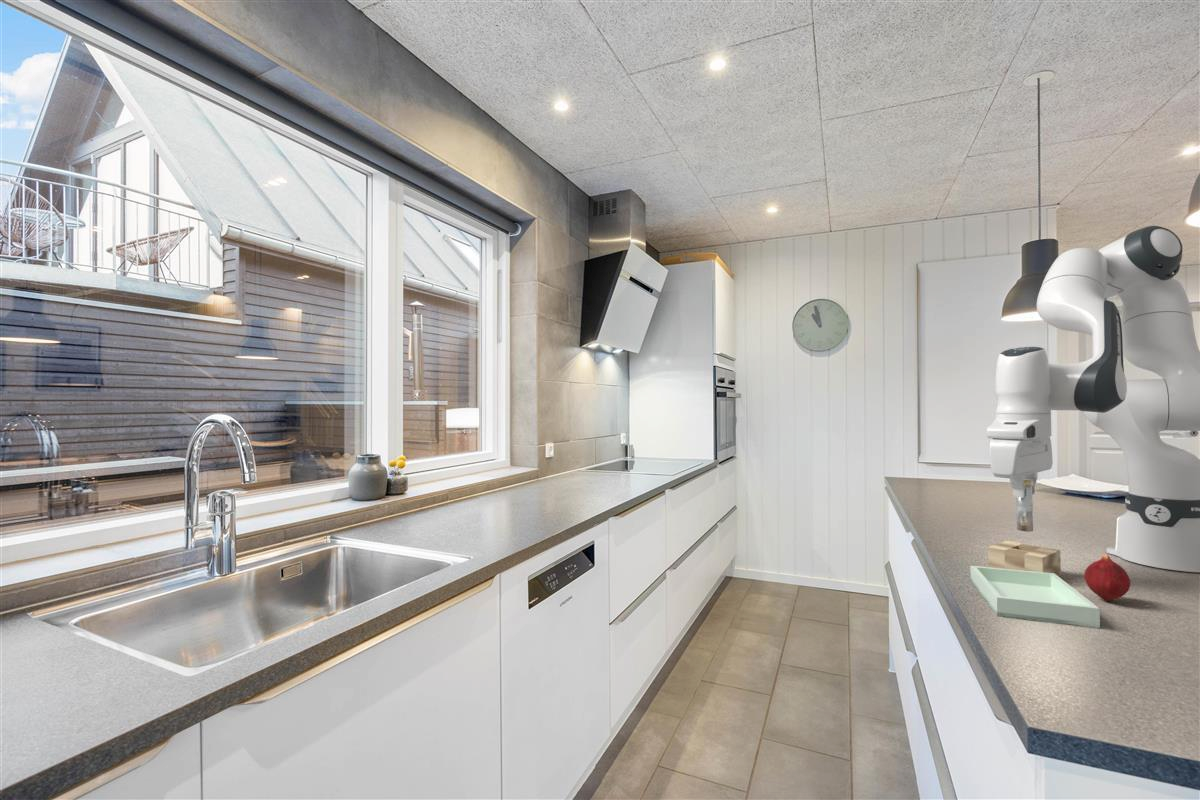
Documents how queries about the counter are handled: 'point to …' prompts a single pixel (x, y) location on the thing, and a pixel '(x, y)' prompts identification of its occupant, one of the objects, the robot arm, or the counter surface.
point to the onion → (1107, 579)
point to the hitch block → (1024, 557)
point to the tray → (1033, 596)
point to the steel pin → (1025, 509)
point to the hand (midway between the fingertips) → (1024, 496)
